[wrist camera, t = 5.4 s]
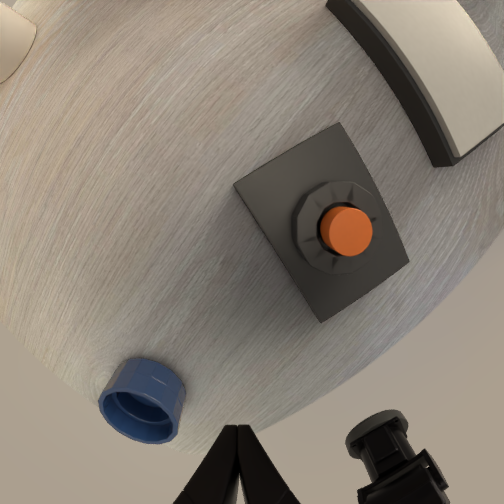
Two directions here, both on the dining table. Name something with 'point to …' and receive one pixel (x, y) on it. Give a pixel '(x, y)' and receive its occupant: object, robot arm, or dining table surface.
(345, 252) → the button
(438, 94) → the scale
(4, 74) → the pill bottle
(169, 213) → the dining table surface
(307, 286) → the pad
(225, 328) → the dining table surface
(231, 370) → the dining table surface
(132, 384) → the small dish
